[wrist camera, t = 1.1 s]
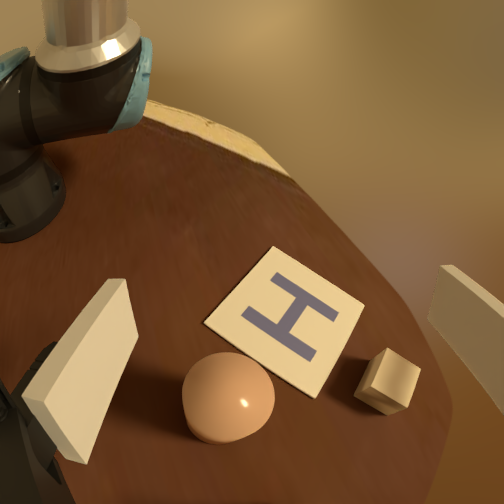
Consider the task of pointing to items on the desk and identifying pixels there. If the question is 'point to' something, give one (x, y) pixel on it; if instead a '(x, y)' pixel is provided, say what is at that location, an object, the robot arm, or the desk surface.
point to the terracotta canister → (226, 398)
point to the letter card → (288, 320)
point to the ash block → (388, 382)
